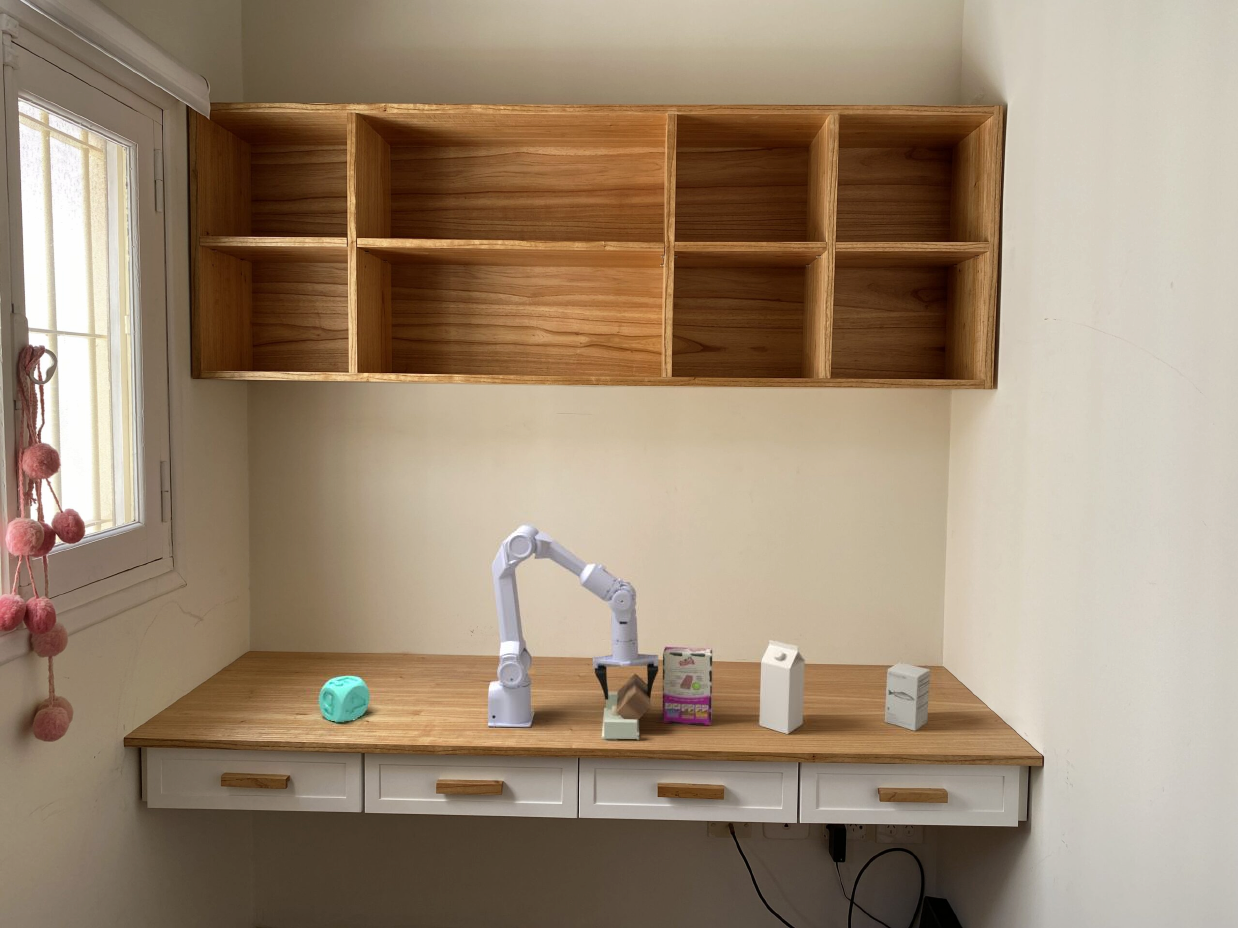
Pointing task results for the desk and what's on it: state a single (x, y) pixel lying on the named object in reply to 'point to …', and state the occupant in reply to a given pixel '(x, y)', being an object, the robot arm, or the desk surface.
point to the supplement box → (907, 696)
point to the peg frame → (617, 722)
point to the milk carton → (782, 687)
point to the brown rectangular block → (633, 699)
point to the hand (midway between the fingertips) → (627, 697)
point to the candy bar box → (687, 685)
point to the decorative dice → (344, 698)
